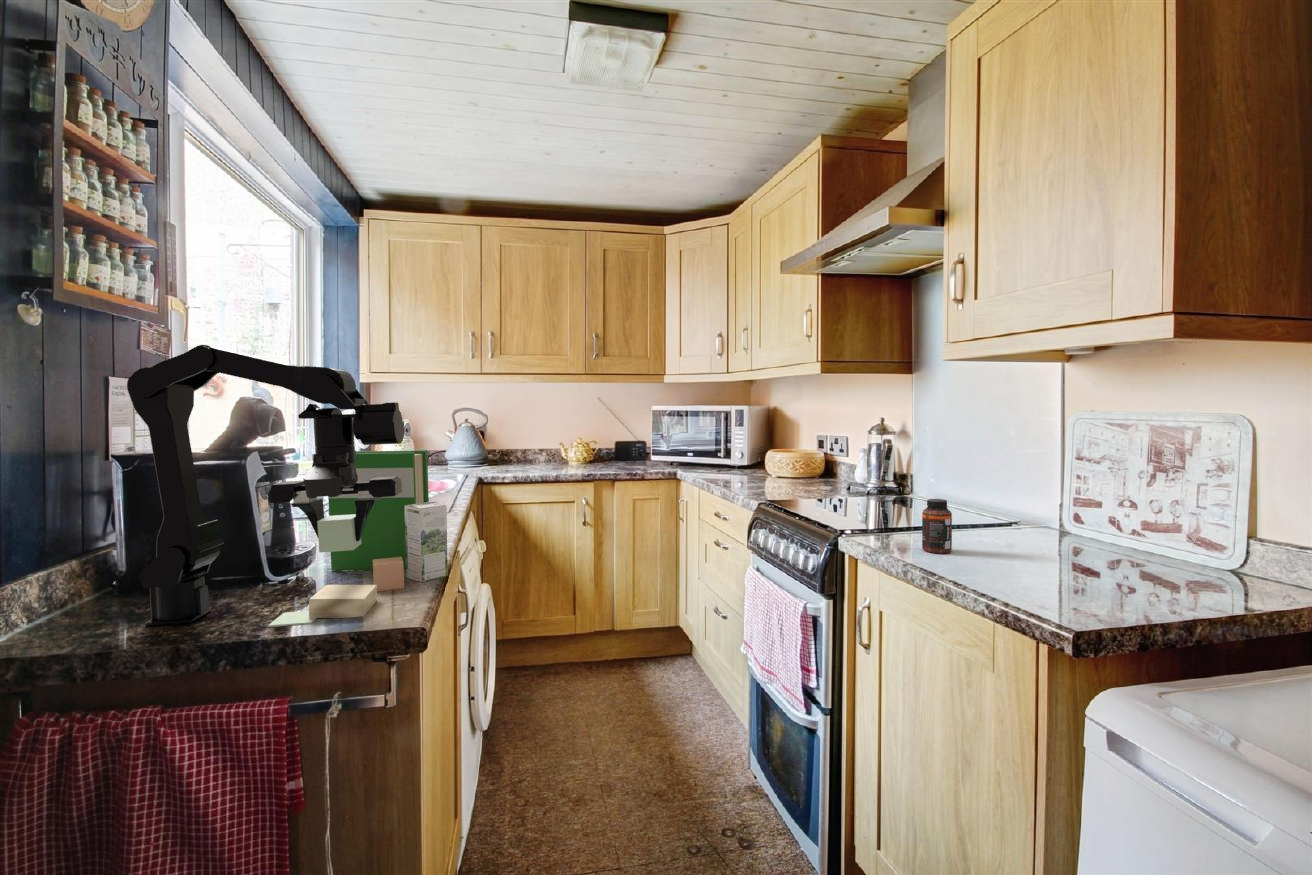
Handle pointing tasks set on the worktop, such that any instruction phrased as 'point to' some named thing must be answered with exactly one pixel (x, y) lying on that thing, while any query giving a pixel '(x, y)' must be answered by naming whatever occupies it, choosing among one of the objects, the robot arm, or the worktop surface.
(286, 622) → the sage swatch
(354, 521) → the sage cube
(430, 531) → the syrup box
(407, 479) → the hardback book
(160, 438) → the robot arm
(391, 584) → the terracotta cube
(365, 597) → the beech block
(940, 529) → the supplement bottle
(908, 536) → the worktop surface
